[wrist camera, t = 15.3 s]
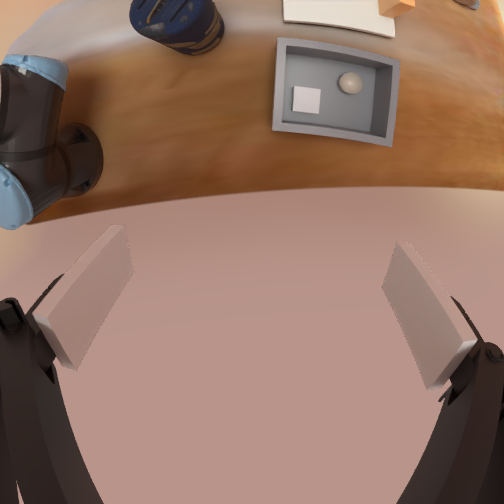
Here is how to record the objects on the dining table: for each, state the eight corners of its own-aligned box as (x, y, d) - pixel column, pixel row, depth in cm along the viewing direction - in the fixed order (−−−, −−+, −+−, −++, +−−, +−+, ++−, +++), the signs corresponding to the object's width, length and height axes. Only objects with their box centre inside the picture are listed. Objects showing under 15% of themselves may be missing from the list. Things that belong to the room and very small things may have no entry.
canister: (237, 32, 35) (221, -5, 19) (193, 67, 38) (154, 51, 23) (200, 0, 31) (168, -43, 16) (159, 34, 35) (108, 10, 19)
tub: (271, 125, 43) (272, 130, 36) (275, 47, 36) (277, 36, 29) (373, 139, 43) (391, 147, 36) (380, 65, 36) (400, 60, 29)
